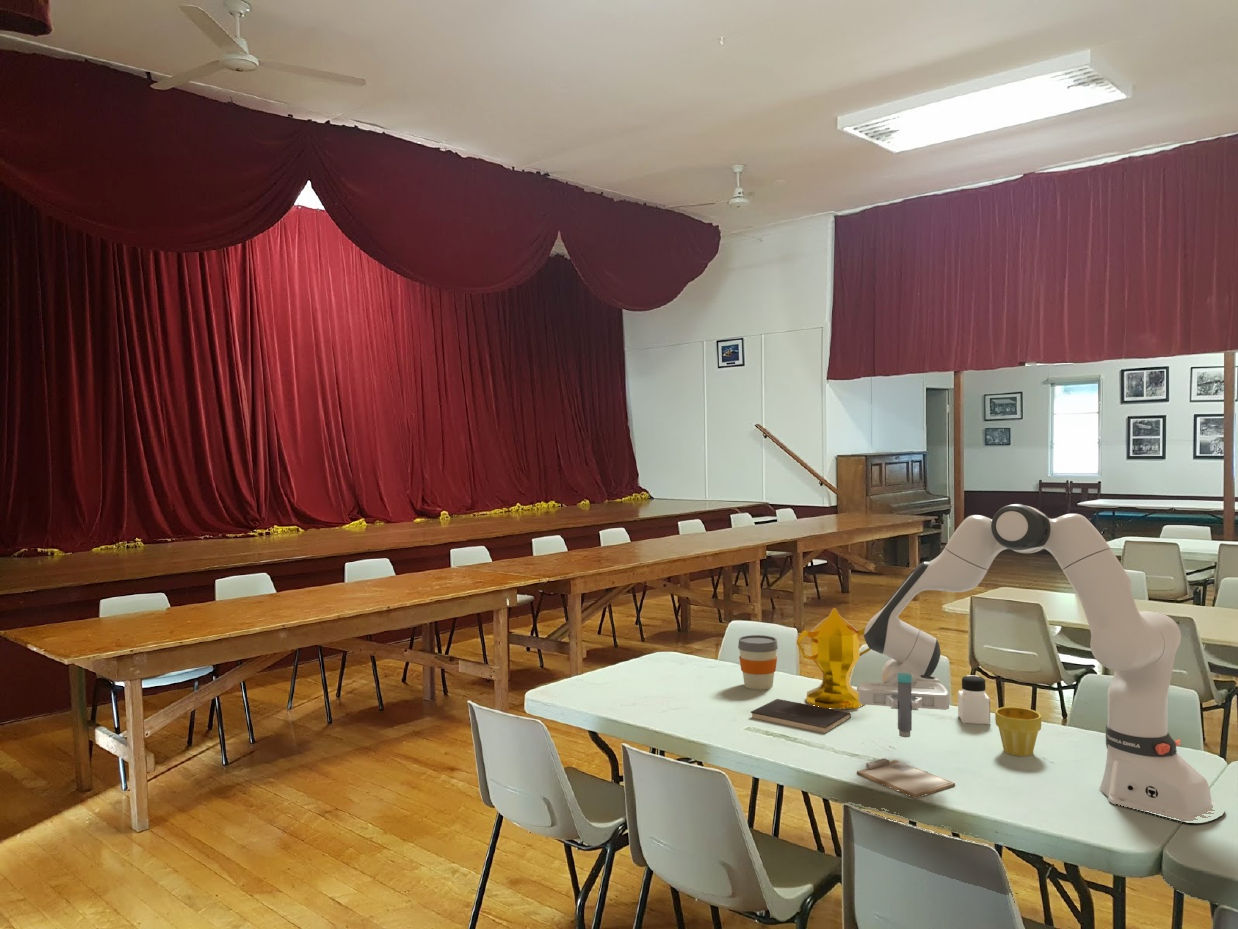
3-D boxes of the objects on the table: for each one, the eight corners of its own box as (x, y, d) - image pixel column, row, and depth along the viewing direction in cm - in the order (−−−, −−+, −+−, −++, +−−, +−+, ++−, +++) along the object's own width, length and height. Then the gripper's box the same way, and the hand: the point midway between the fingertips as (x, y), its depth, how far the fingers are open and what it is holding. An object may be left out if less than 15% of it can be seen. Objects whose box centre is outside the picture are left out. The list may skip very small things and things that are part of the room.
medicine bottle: (990, 724, 234) (990, 680, 234) (962, 723, 235) (962, 680, 235) (984, 716, 241) (984, 674, 240) (957, 715, 242) (957, 673, 242)
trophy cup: (888, 708, 250) (886, 612, 249) (805, 712, 248) (803, 615, 247) (866, 691, 267) (865, 602, 266) (789, 695, 265) (787, 604, 265)
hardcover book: (825, 735, 230) (825, 726, 229) (750, 719, 244) (750, 711, 244) (850, 720, 242) (850, 712, 242) (778, 706, 256) (778, 698, 256)
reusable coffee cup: (784, 683, 278) (783, 637, 278) (769, 693, 268) (768, 645, 267) (748, 678, 285) (747, 633, 285) (732, 688, 274) (731, 641, 274)
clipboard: (955, 785, 193) (954, 778, 193) (914, 798, 186) (914, 791, 186) (894, 762, 208) (894, 755, 208) (855, 773, 201) (855, 766, 201)
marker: (914, 736, 195) (914, 675, 195) (905, 738, 194) (905, 677, 193) (904, 732, 198) (904, 672, 197) (894, 734, 196) (894, 674, 196)
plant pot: (1039, 762, 206) (1038, 721, 206) (992, 755, 211) (992, 715, 211) (1043, 749, 215) (1043, 710, 214) (999, 742, 220) (998, 704, 220)
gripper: (856, 673, 211) (857, 689, 197) (945, 678, 205) (952, 695, 192) (856, 698, 211) (857, 716, 197) (945, 704, 205) (952, 723, 192)
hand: (904, 706), depth 195 cm, fingers closed on marker, 3 cm apart
